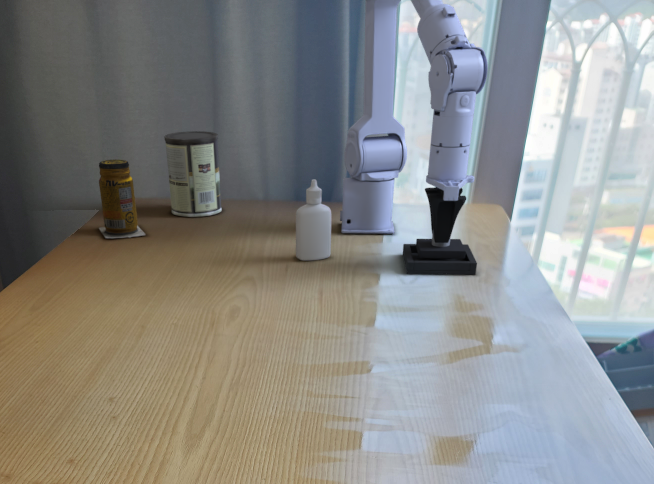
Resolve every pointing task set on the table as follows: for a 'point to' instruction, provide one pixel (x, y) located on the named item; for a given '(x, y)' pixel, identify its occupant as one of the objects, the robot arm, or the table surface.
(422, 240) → the stud pad
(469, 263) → the socket pad
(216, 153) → the coffee can
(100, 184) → the condiment
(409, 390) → the table surface
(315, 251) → the eye dropper bottle
